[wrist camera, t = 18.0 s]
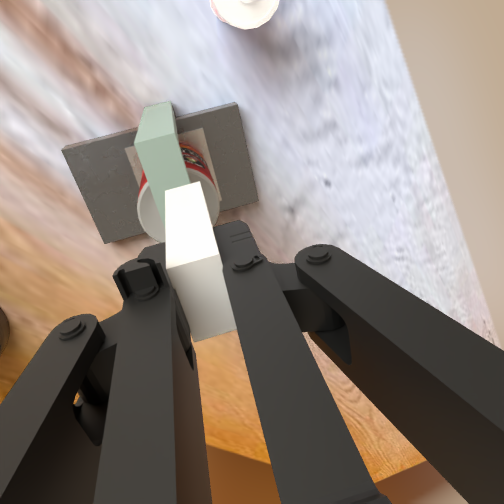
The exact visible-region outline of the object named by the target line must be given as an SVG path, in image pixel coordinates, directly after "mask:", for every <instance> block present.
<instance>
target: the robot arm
mask: <svg viewBox="0 0 504 504" xmlns="http://www.w3.org/2000/svg"><path fill="white" fill-rule="evenodd" d="M165 229H166V242H163V243H160V244H156V245H153V246H149V247H145V248H144V249H143V250H142V252H141V253H140V254H139V256H138V258H136V259H133V260H130V261H128V262H126V263H125V264H123V265H121V266H120V267H119V268H118V269H117V270H116V271H115V272H114V274H113V279H114V281H115V283H116V285H117V287H118V289H119V291H120V293H121V296H122V298H123V300H124V301H123V308H122V310H121V311H120V312H119V313H117V314H115V315H113V316H111V317H109V318H107V319H105V320H103V321H101V322H98V320H97V318H96V316H94V315H91V314H81V315H77V316H73V317H70V318H69V319H66V320H64V321H63V322H62V323H61V324H59V325H58V326H56V327H55V328H54V329H53V330H52V331H51V333H50V334H49V335H48V337H47V338H46V339H45V341H44V342H43V344H42V345H41V347H40V348H39V350H38V351H37V352H36V354H35V355H34V357H33V358H32V360H31V361H30V363H29V364H28V365H27V367H26V368H25V370H24V371H23V373H22V374H21V376H20V377H19V378H18V380H17V381H16V383H15V384H14V386H13V387H12V389H11V390H10V391H9V393H8V394H7V396H6V397H5V399H4V400H3V402H2V403H1V404H0V504H212V497H211V489H210V479H209V470H208V461H207V452H206V442H205V433H204V424H203V415H202V406H201V397H200V388H199V378H198V369H197V360H196V353H195V350H194V348H193V345H192V343H191V336H192V338H193V341H194V342H197V341H201V340H204V339H207V338H211V337H214V336H217V335H221V334H224V333H227V332H230V331H234V330H237V331H238V335H239V339H240V343H241V347H242V351H243V355H244V359H245V363H246V367H247V371H248V375H249V379H250V382H251V386H252V390H253V394H254V398H255V402H256V406H257V410H258V414H259V418H260V422H261V426H262V430H263V434H264V438H265V442H266V445H267V449H268V453H269V457H270V461H271V465H272V469H273V473H274V477H275V481H276V485H277V488H278V493H279V497H280V500H281V504H392V503H391V502H390V500H389V499H388V498H387V496H385V495H383V494H381V493H380V492H379V491H378V489H377V488H376V486H375V484H374V482H373V480H372V478H371V476H370V474H369V472H368V470H367V468H366V466H365V464H364V462H363V459H362V457H361V455H360V453H359V451H358V449H357V447H356V445H355V443H354V441H353V438H352V436H351V434H350V432H349V430H348V428H347V426H346V424H345V422H344V420H343V417H342V415H341V413H340V411H339V409H338V407H337V405H336V403H335V401H334V399H333V396H332V394H331V392H330V390H329V388H328V386H327V384H326V382H325V380H324V378H323V376H322V373H321V371H320V369H319V367H318V365H317V363H316V361H315V359H314V357H313V355H312V352H311V350H310V348H309V346H308V344H307V342H306V340H305V338H304V336H303V334H302V332H308V334H309V336H310V338H311V339H312V340H313V341H314V342H315V343H316V344H317V345H318V347H319V348H320V349H321V350H322V351H323V352H324V353H325V354H326V355H327V356H328V357H329V358H330V359H331V360H332V361H333V362H334V363H335V364H336V365H337V366H338V367H339V368H340V370H341V371H342V372H343V373H344V374H345V375H346V376H347V377H348V378H349V379H350V380H351V381H352V382H353V383H354V384H355V385H356V386H357V387H358V388H359V389H360V390H361V391H362V393H363V394H364V395H365V396H366V397H367V398H368V399H369V400H370V401H371V402H372V403H373V404H374V405H375V406H376V407H377V408H378V409H379V410H380V411H381V412H382V413H383V414H384V415H385V417H386V418H387V419H388V420H389V421H390V422H391V423H392V424H393V425H394V426H395V427H396V428H397V429H398V430H399V431H400V432H401V433H402V434H403V435H404V436H405V437H406V438H407V440H408V441H409V442H410V443H411V444H412V445H413V446H414V447H415V448H416V449H417V450H418V451H419V452H420V453H421V454H422V455H423V456H424V457H425V458H426V459H427V460H428V461H429V463H430V464H431V465H432V466H433V467H434V468H435V469H436V470H437V471H438V472H439V473H440V474H441V475H442V476H443V477H444V478H445V479H446V480H447V481H448V482H449V483H450V484H451V485H452V487H453V488H454V489H455V490H456V491H457V492H458V493H459V494H460V495H461V496H462V497H463V498H464V499H465V500H466V501H467V502H468V503H469V504H504V351H503V350H501V349H500V348H498V347H497V346H495V345H493V344H492V343H490V342H489V341H487V340H485V339H484V338H482V337H481V336H479V335H477V334H476V333H474V332H473V331H471V330H469V329H468V328H466V327H465V326H463V325H461V324H460V323H458V322H457V321H455V320H453V319H452V318H450V317H449V316H447V315H445V314H444V313H442V312H441V311H439V310H437V309H436V308H434V307H433V306H431V305H429V304H428V303H426V302H425V301H423V300H421V299H420V298H418V297H416V296H415V295H413V294H412V293H410V292H408V291H407V290H405V289H404V288H402V287H400V286H399V285H397V284H396V283H394V282H392V281H391V280H389V279H388V278H386V277H384V276H383V275H381V274H380V273H378V272H376V271H375V270H373V269H372V268H370V267H368V266H367V265H365V264H364V263H362V262H360V261H359V260H357V259H356V258H354V257H352V256H351V255H349V254H348V253H346V252H344V251H343V250H341V249H340V248H338V247H335V246H333V245H326V244H318V245H312V246H310V247H307V248H304V249H303V250H301V251H299V252H298V254H297V255H296V256H295V263H290V264H276V263H271V262H268V260H267V258H266V257H265V256H264V255H263V254H261V253H260V251H259V249H258V246H257V244H256V242H255V240H254V238H253V236H252V234H251V232H250V229H249V227H248V225H247V224H246V223H244V222H242V221H240V220H237V221H234V222H230V223H227V224H223V225H220V226H216V227H213V225H212V221H211V218H210V214H209V211H208V207H207V204H206V201H205V197H204V194H203V190H202V187H201V184H200V181H199V182H195V183H192V184H188V185H184V186H181V187H177V188H173V189H170V190H166V191H165ZM190 333H191V336H190ZM8 338H9V325H8V321H7V319H6V317H5V315H4V313H3V311H2V310H1V308H0V356H1V354H2V352H3V350H4V348H5V346H6V344H7V342H8ZM77 392H78V394H79V396H80V397H79V399H78V401H77V403H76V404H75V405H74V404H73V402H74V399H75V396H76V393H77Z"/></svg>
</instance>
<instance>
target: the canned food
mask: <svg viewBox="0 0 504 504" xmlns="http://www.w3.org/2000/svg"><path fill="white" fill-rule="evenodd" d="M179 145H180V149H181V152H182V155H183V158H184V162H185V165H186V168H187V172H188V175H189V178H190V181H191V184H192V183H195V182H199V181H200V184H201V187H202V190H203V194H204V197H205V201H206V204H207V207H208V211H209V214H210V218H211V221H212V225H213V227H214V225H215V224H216V221H217V219H218V216H219V211H220V200H219V195H218V192H217V189H216V186H215V183H214V181H213V178H212V176H211V173H210V170H209V168H208V165H207V163H206V161H205V159H204V158H203V156H202V155H201V154H200V153H199V152H198V151H196V150H195V149H193V148H191V147H189V146H186V145H181V144H179ZM137 212H138V218H139V221H140V224H141V226H142V227H143V229H144V231H145V232H146V233H147V234H148V235H149V236H150V237H151V238H153V239H154V240H155V241H157V242H160V243H163V242H166V231H165V228H164V225H163V222H162V220H161V217H160V214H159V211H158V209H157V206H156V203H155V200H154V198H153V195H152V192H151V189H150V187H149V184H148V181H147V178H146V176H145V173H144V170H143V172H142V177H141V183H140V189H139V194H138V202H137Z"/></svg>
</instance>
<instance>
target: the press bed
mask: <svg viewBox="0 0 504 504" xmlns="http://www.w3.org/2000/svg"><path fill="white" fill-rule="evenodd" d="M175 121H176V127H177V134H178V140H179V144H181V145H186V146H189V147H191V148H193V149H195V150H196V151H198V152H199V153H200V154H201V155H202V156H203V158H204V159H205V161H206V163H207V165H208V168H209V170H210V173H211V176H212V178H213V181H214V183H215V186H216V189H217V192H218V195H219V200H220V211H219V212H221V211H225V210H228V209H232V208H235V207H239V206H243V205H246V204H250V203H253V202H257V201H258V196H257V191H256V187H255V182H254V178H253V173H252V169H251V164H250V159H249V155H248V150H247V146H246V141H245V137H244V132H243V127H242V123H241V118H240V114H239V109H238V105H237V104H236V103H235V102H233V103H229V104H225V105H221V106H218V107H214V108H210V109H206V110H202V111H198V112H194V113H191V114H187V115H183V116H179V117H175ZM138 128H139V127H137V128H133V129H129V130H125V131H121V132H117V133H114V134H110V135H106V136H102V137H98V138H94V139H90V140H87V141H83V142H79V143H75V144H71V145H67V146H65V147H64V148H63V149H62V150H61V151H62V153H63V155H64V157H65V159H66V161H67V164H68V166H69V168H70V170H71V172H72V174H73V177H74V179H75V181H76V183H77V185H78V187H79V190H80V192H81V194H82V196H83V198H84V200H85V203H86V205H87V207H88V209H89V211H90V214H91V216H92V218H93V220H94V222H95V224H96V227H97V229H98V231H99V233H100V235H101V237H102V240H103V242H104V244H107V243H110V242H114V241H117V240H121V239H125V238H128V237H132V236H135V235H139V234H142V233H146V232H145V231H144V229H143V227H142V226H141V224H140V221H139V218H138V212H137V202H138V194H139V189H140V183H141V177H142V172H143V167H142V165H141V162H140V159H139V156H138V154H137V151H136V148H135V145H134V141H135V138H136V134H137V131H138Z"/></svg>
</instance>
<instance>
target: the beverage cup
mask: <svg viewBox="0 0 504 504" xmlns="http://www.w3.org/2000/svg"><path fill="white" fill-rule="evenodd" d="M278 4H279V0H210V6H211V8H212V10H213V12H214V14H215V16H217V17H218V18H219V19H220V20H221V21H222V22H225V23H228V24H230V25H231V26H234V27H237V28H240V29H252V28H258V27H259V26H261V25H262V24H264V23H266V22H267V21H269V20H270V18H271V17H272V15H273V14H274V12H275V11H276V9H277V8H278Z"/></svg>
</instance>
